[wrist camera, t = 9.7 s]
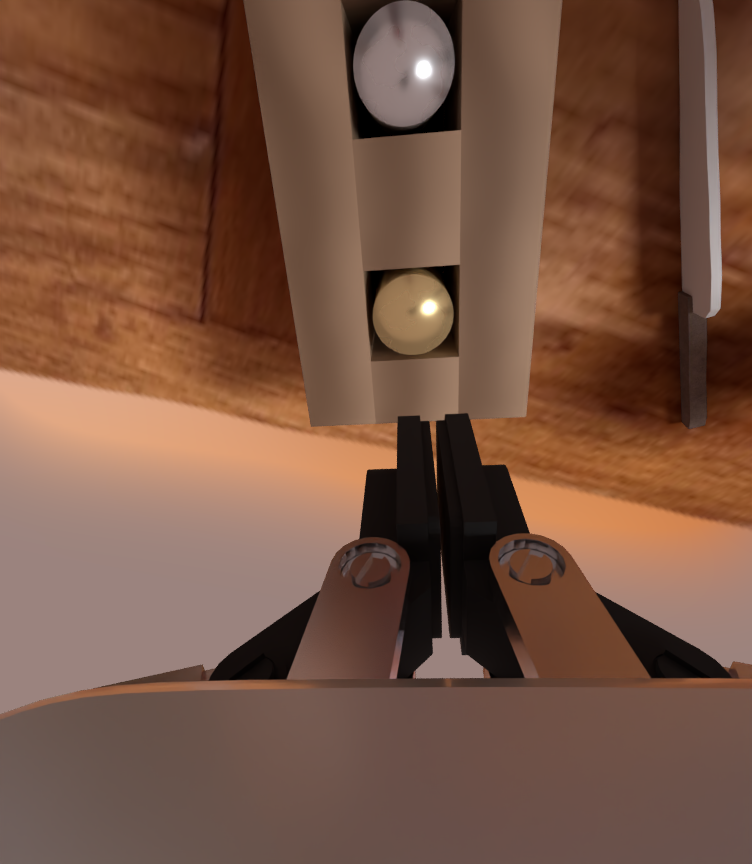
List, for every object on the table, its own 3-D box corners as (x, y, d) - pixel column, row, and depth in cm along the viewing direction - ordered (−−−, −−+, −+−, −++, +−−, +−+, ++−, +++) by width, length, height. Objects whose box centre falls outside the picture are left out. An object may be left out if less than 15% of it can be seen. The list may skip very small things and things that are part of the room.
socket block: (518, -64, 24) (577, -177, 16) (496, 359, 34) (526, 416, 26) (279, -36, 24) (222, -130, 17) (330, 367, 35) (310, 426, 27)
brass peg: (440, 245, 30) (453, 272, 23) (440, 309, 32) (453, 352, 25) (376, 250, 30) (369, 277, 23) (381, 312, 32) (375, 357, 25)
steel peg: (438, 44, 25) (454, -6, 18) (439, 133, 27) (454, 122, 20) (363, 52, 26) (348, 6, 18) (369, 139, 27) (358, 130, 20)
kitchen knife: (721, 440, 33) (741, -177, 19) (704, 444, 33) (711, -163, 19) (690, 411, 37) (687, -125, 23) (675, 415, 37) (662, -114, 23)
